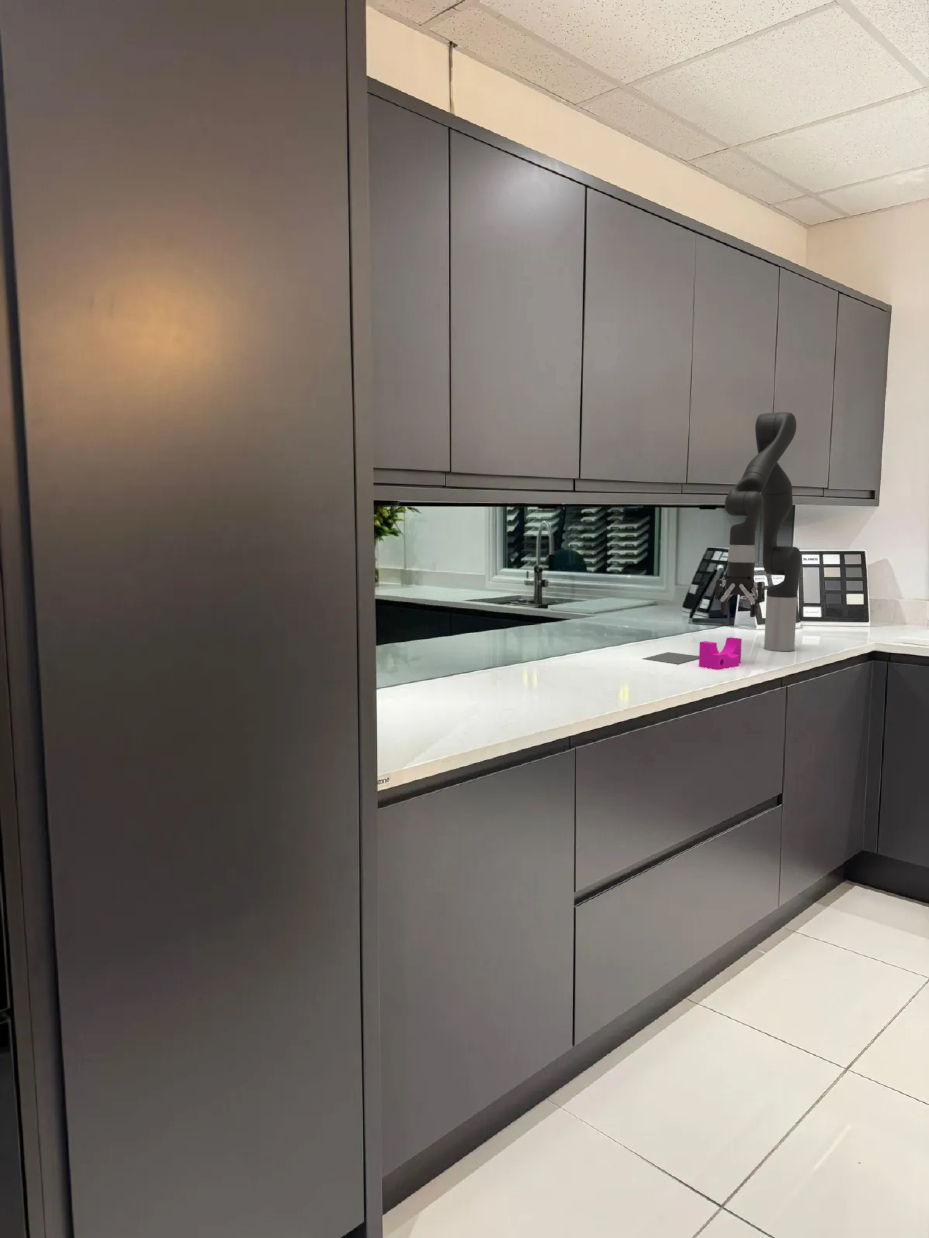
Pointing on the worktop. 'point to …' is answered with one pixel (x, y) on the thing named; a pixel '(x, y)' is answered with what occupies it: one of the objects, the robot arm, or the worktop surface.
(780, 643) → the robot arm
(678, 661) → the rubber mat
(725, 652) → the magenta pipe clamp
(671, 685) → the worktop surface
